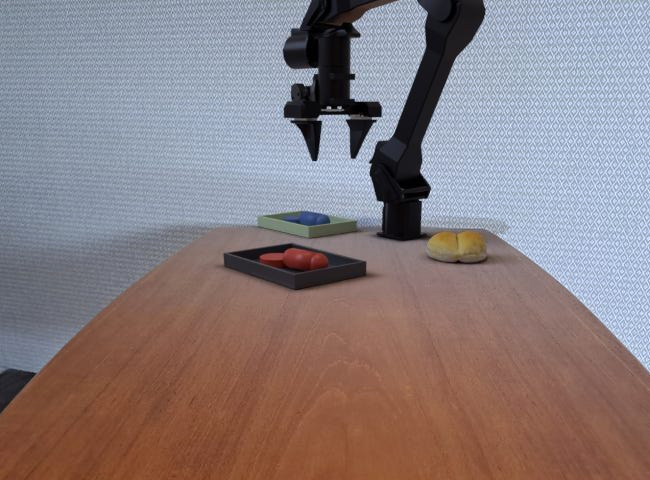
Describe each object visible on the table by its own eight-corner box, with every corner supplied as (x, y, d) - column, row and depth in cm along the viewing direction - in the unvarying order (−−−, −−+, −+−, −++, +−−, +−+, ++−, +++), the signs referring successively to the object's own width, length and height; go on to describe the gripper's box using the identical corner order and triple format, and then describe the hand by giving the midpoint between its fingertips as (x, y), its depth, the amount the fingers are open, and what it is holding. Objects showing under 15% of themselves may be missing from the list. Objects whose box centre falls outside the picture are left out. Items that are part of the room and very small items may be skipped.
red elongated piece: (337, 272, 91) (337, 252, 90) (313, 278, 88) (313, 257, 87) (277, 259, 98) (276, 240, 97) (253, 264, 95) (252, 245, 94)
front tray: (366, 275, 91) (366, 261, 91) (294, 289, 84) (294, 274, 83) (292, 254, 104) (291, 242, 103) (224, 266, 96) (223, 252, 96)
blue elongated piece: (337, 229, 122) (337, 213, 121) (317, 232, 120) (317, 216, 119) (298, 221, 131) (298, 206, 130) (278, 223, 128) (278, 208, 127)
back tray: (356, 230, 123) (356, 220, 123) (308, 238, 117) (308, 226, 116) (303, 220, 135) (303, 210, 134) (257, 225, 128) (257, 215, 128)
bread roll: (428, 251, 106) (429, 225, 105) (486, 253, 104) (488, 227, 103) (423, 262, 99) (424, 234, 97) (485, 265, 97) (487, 237, 95)
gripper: (345, 70, 130) (344, 155, 136) (264, 67, 119) (267, 159, 125) (385, 68, 122) (382, 158, 128) (302, 65, 111) (303, 163, 117)
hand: (334, 160), depth 124 cm, fingers open, 9 cm apart
